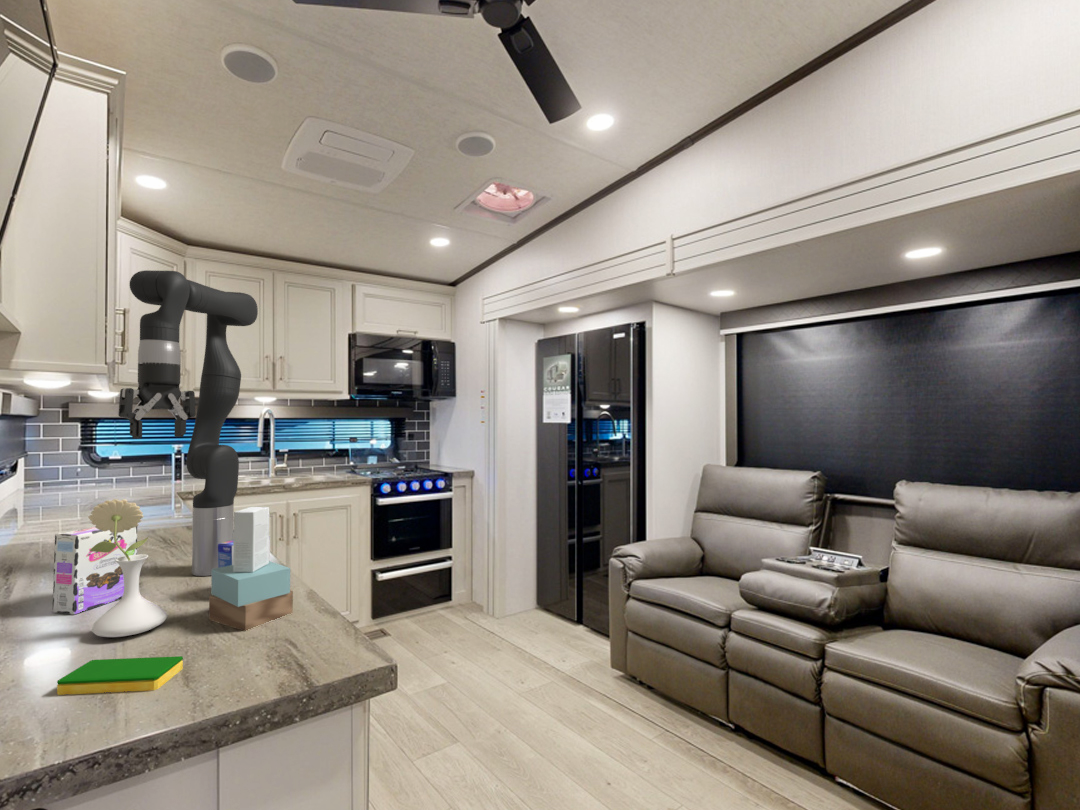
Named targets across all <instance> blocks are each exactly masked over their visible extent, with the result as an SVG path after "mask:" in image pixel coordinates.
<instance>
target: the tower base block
mask: <svg viewBox="0 0 1080 810" xmlns="http://www.w3.org/2000/svg"><path fill="white" fill-rule="evenodd" d="M293 598H294V591H293V590H291V589H290V593H288V594H284V595H280V596H277V597H273V598H269V599H265V600H262V601H258V602H254V603H250V604H247V605H243V606H239V607H237V606H235V605H233V604H231V603H229V602H227V601H225V600H222V599H220V598H218V597H216V596H214V595H212V594H211V595H209V599H208V602H209V603H208V620H209V621H212V622H216V623H218V622H219V624H221V623H222V624H221V625H225V626H228V627H231V628H234V629H238V630H240V629H241V630H240V631H243V630H245V631H244V632H247V631H249V630H248V629H250V630H252V629H251V628H253V627H256V626H258V625H261V624H264V623H266V622H269V621H271V620H275V619H277V618H280V617H282V616H285V615H287V614H291V613H293V612H294V611H293V610H294V605H293V604H294V599H293ZM293 614H294V613H293ZM291 615H292V614H291ZM280 619H281V618H280ZM275 621H276V620H275ZM269 623H270V622H269ZM264 625H265V624H264ZM261 626H262V625H261ZM258 627H259V626H258ZM256 628H257V627H256ZM253 629H254V628H253ZM246 630H247V631H246Z"/></svg>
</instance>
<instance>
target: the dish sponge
mask: <svg viewBox="0 0 1080 810" xmlns="http://www.w3.org/2000/svg"><path fill="white" fill-rule="evenodd" d="M183 660H184V658H183V656H156V657H130V658H129V657H128V658H110V659H109V658H106V659H105V658H104V659H101V658H100V659H92V660H89V661H87V662H86V663H84V664H82V665H81V666H80V667H78V668H76V669H74V670H73V671H71V672H69V673H67V674H65V676H62V677H61V678H59V679H58V680H57V681H56V684H57V685H56V686H57V688H56V695H57V694H58V695H57V696H66V695H65V694H69V695H86V694H87V695H88V694H89V695H90V694H105V693H106V692H111V693H126V692H127V691H131V692H148V691H156V690H158V689H160V688H162V686H164V685H165V684H166V683H167V682H168V681H170V680H171V679H172V678H174V677H175V675H177V674H178V673H180V672H181V671H182V670H183V668H184V667H183V665H184V661H183ZM124 691H125V692H124ZM104 692H105V693H104ZM127 693H128V692H127ZM106 694H107V693H106Z"/></svg>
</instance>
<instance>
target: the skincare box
mask: <svg viewBox="0 0 1080 810" xmlns="http://www.w3.org/2000/svg"><path fill="white" fill-rule="evenodd" d="M233 530H234V543H233V572H254V571H256V570H258V569H260V568H262V567H264V566H265V565H267V564H269V537H270V507H268V506H248V507H246V508H243V509H239V510H236V511H234V512H233Z"/></svg>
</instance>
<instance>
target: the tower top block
mask: <svg viewBox="0 0 1080 810" xmlns="http://www.w3.org/2000/svg"><path fill="white" fill-rule="evenodd" d="M210 585H211V586H210V587H211V590H210V592H211V595H214V596H216V597H218V598H220V599H222V600H225V601H227V602H229V603H231V604H233V605H235V606H237V607H239V606H243V605H247V604H250V603H254V602H258V601H262V600H265V599H269V598H273V597H277V596H280V595H284V594H288V593H290V590H291V567H288V566H285V565H282V564H280V563H277V562H274V561H271V560H270V561H269V564H267V565H265V566H264V567H262V568H260V569H258V570H256V571H254V572H233V565H230V566H225V567H220V568H215V569H212V575H211V584H210Z"/></svg>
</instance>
